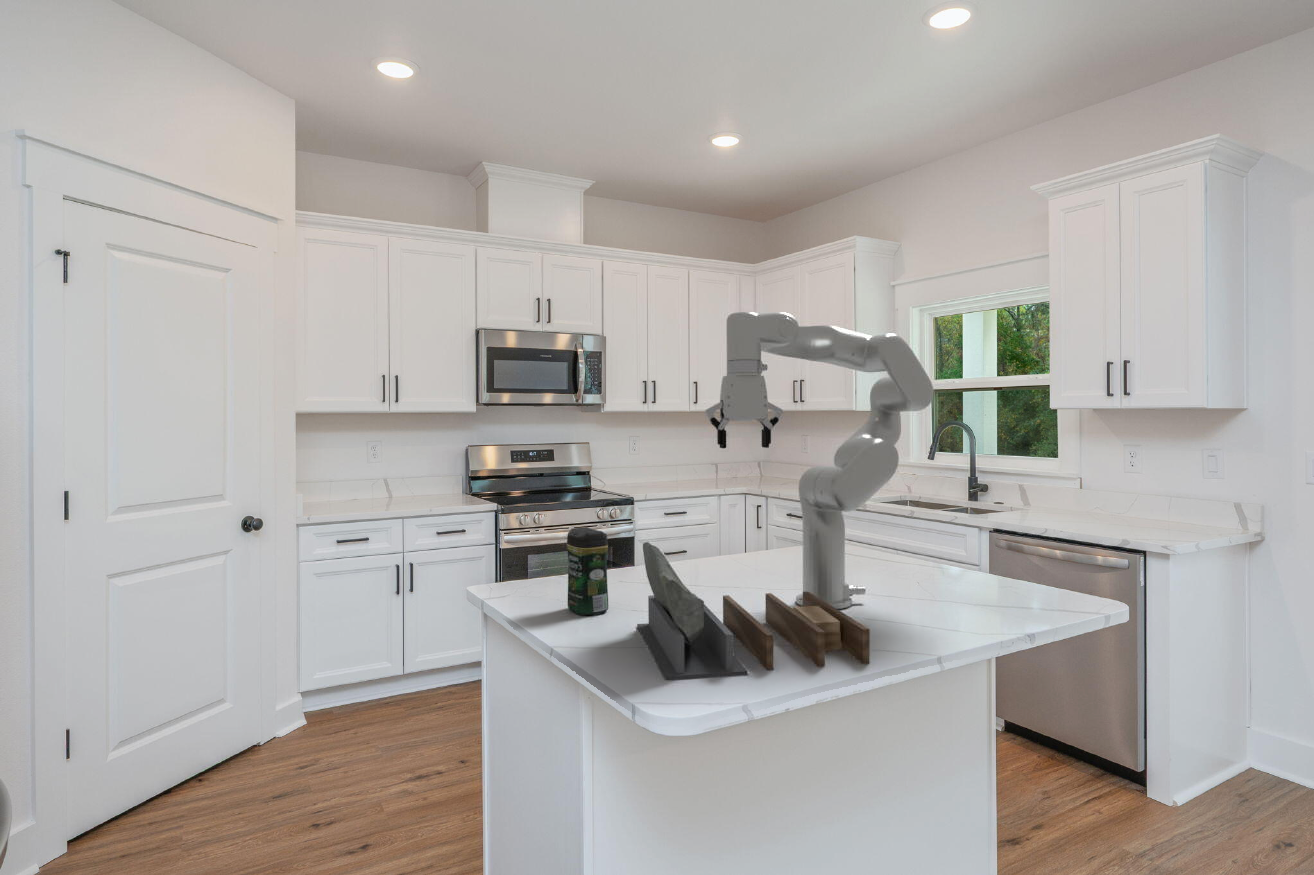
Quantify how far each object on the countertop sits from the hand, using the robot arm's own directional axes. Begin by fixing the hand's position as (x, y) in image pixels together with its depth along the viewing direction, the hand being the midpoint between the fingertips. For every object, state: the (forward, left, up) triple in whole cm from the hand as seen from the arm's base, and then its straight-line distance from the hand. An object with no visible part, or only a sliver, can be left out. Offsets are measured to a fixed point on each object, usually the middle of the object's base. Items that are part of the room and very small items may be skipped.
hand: (744, 447), depth 165 cm
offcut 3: (-8, +23, -37) cm, 44 cm away
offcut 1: (-7, +23, -33) cm, 41 cm away
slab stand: (+18, +23, -36) cm, 47 cm away
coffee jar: (+34, -8, -36) cm, 51 cm away
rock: (+17, +23, -36) cm, 46 cm away
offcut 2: (-8, +23, -35) cm, 43 cm away
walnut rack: (-2, +23, -36) cm, 43 cm away
